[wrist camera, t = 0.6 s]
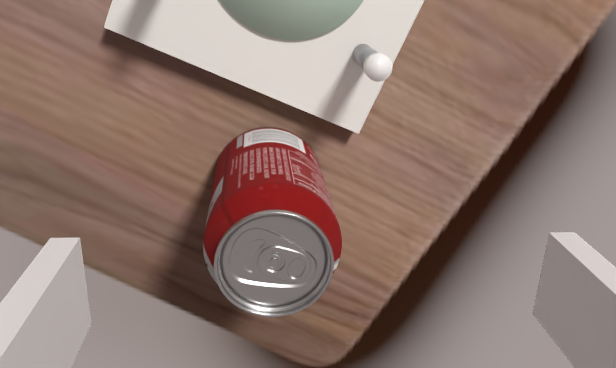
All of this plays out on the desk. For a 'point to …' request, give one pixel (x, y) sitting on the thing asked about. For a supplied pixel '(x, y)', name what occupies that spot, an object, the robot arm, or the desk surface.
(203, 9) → the white pegged board
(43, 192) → the desk surface
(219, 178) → the soda can
